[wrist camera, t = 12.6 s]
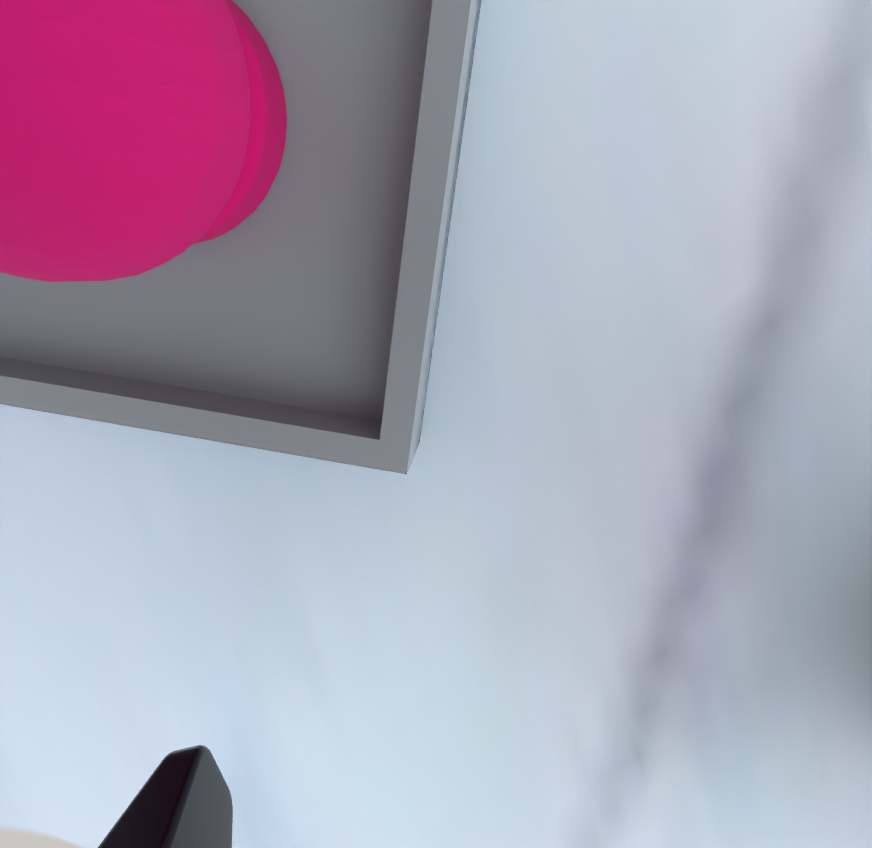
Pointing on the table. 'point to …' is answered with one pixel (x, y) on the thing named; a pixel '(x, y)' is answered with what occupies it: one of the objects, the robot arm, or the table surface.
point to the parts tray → (286, 261)
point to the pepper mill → (130, 132)
